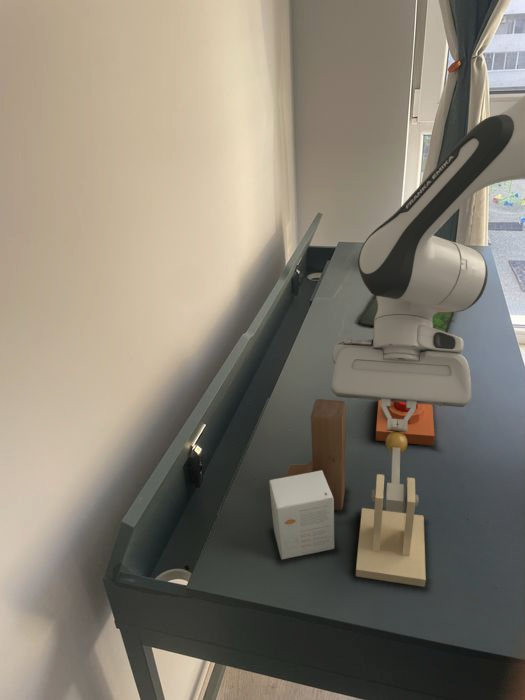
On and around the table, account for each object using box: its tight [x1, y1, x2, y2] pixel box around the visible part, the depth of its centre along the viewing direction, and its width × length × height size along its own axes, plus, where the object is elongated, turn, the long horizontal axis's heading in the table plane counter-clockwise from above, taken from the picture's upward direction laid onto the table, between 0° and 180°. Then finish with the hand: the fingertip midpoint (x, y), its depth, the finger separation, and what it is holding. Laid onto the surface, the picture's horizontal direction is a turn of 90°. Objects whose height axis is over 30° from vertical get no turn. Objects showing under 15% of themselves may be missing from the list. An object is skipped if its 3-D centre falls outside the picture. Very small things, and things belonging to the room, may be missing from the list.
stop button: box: [396, 402, 409, 412], centre depth 97 cm, size 4×4×2 cm
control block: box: [375, 400, 435, 447], centre depth 98 cm, size 12×10×4 cm
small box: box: [268, 470, 335, 560], centre depth 75 cm, size 8×6×10 cm
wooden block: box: [285, 398, 347, 511], centre depth 80 cm, size 9×4×18 cm, turn 76°
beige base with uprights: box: [355, 473, 427, 588], centre depth 72 cm, size 11×9×12 cm
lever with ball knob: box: [384, 432, 409, 513], centre depth 74 cm, size 13×3×3 cm, turn 167°
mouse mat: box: [358, 295, 455, 333], centre depth 140 cm, size 27×22×1 cm
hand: (396, 431), depth 78 cm, fingers closed, pressing on lever with ball knob
